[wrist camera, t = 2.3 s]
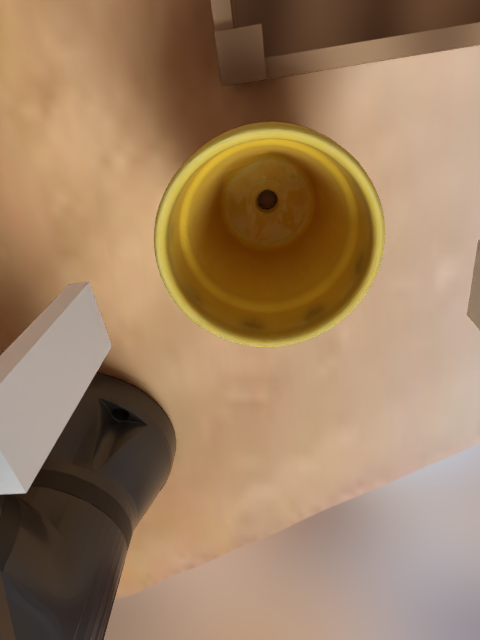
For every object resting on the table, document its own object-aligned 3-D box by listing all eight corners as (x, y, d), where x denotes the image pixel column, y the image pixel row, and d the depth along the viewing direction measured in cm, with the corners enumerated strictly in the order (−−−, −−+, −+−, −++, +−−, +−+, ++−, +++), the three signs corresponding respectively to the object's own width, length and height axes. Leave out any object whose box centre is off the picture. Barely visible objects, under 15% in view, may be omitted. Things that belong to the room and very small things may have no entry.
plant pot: (189, 100, 24) (150, 110, 16) (364, 120, 24) (419, 141, 16) (184, 264, 29) (153, 338, 21) (328, 280, 30) (355, 360, 21)
